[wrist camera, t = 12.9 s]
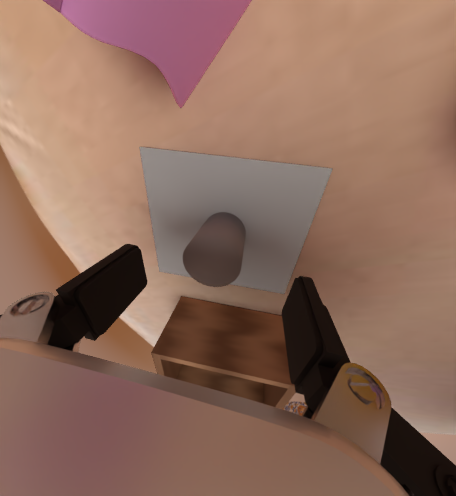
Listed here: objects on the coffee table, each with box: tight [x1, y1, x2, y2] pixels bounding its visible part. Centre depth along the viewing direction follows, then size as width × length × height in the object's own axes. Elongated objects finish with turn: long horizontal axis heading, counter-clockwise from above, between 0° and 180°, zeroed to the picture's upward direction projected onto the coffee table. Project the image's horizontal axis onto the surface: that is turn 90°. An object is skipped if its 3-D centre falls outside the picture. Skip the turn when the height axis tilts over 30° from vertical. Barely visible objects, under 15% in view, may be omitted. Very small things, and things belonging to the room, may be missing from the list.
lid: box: [140, 147, 332, 294], centre depth 13 cm, size 14×12×6 cm
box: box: [151, 296, 296, 409], centre depth 20 cm, size 14×12×7 cm
